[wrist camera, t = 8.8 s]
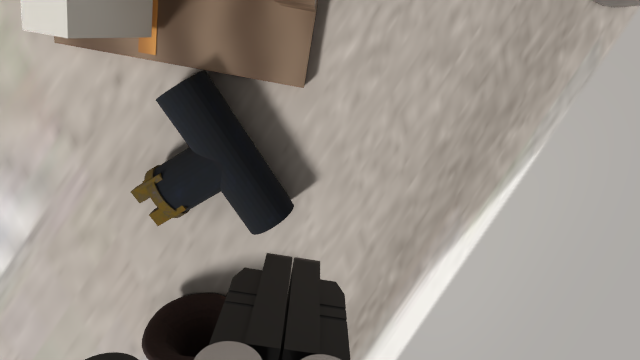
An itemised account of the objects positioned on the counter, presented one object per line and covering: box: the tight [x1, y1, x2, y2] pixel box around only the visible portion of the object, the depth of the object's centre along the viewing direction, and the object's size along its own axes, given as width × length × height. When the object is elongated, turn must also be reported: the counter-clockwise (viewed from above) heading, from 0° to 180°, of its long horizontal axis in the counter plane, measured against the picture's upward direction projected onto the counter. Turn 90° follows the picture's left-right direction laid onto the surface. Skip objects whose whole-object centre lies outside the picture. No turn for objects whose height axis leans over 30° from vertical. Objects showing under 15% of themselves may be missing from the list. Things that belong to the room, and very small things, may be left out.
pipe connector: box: [131, 70, 294, 235], centre depth 39 cm, size 12×5×15 cm
